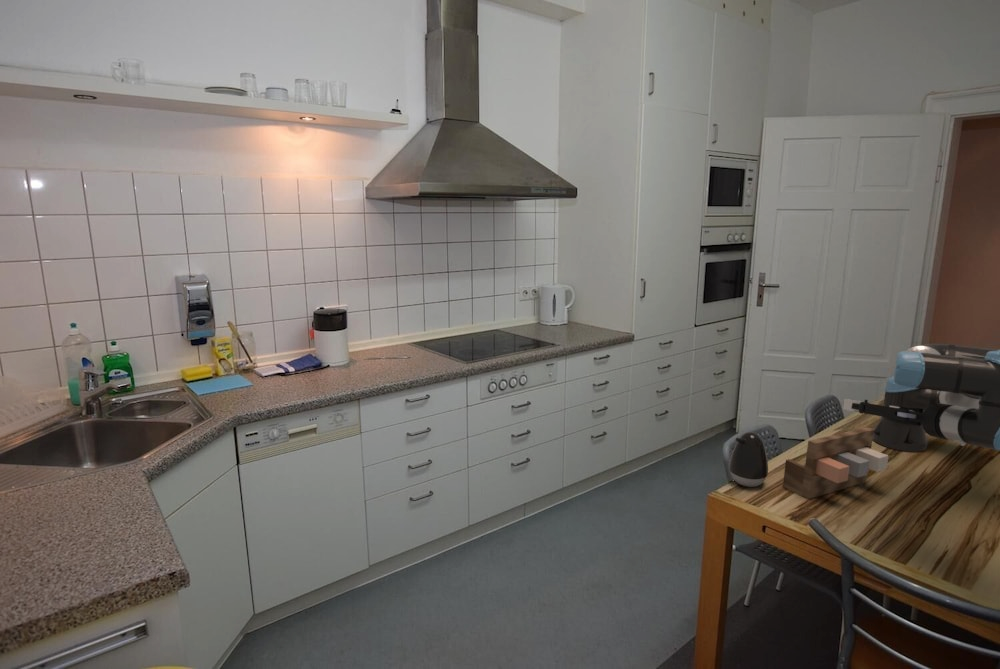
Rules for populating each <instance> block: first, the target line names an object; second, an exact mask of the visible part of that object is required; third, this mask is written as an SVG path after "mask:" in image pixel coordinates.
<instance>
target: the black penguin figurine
mask: <svg viewBox="0 0 1000 669" xmlns="http://www.w3.org/2000/svg"><path fill="white" fill-rule="evenodd" d="M735 441H736V444H735V446H734V448H733V450H732V452H731V456H730V459H729V463H728V470H729V472H730V476H731V477H732V479H733V480H734V481H735V483H737V484H739V485H741V486H744V487H747V488H753V487H758V486H760V485H763V483H764V481H765V480H766V478H767V477H768V474H769V462H768V455H767V450H766V447H765V444H764V441H763V439H762V438H761V436H760V435H759V434H757V433H756V432H753V431H748V432H745V433H743V434H742V435H741V436H740V437H736V438H735Z"/></svg>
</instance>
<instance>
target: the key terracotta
mask: <svg viewBox="0 0 1000 669" xmlns="http://www.w3.org/2000/svg"><path fill="white" fill-rule="evenodd" d="M849 467H850V466H848V465H845V464H843V463H840V462H838V461H836V460H833V459H831V458H829V457H826V456H825V457H821V458H817V462H816V470H815V473H816V474H818V475H820V476H822V477H824V478H826V479H829V480H831V481H833V482H835V483H841V482H844V481H848V474H849Z"/></svg>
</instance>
